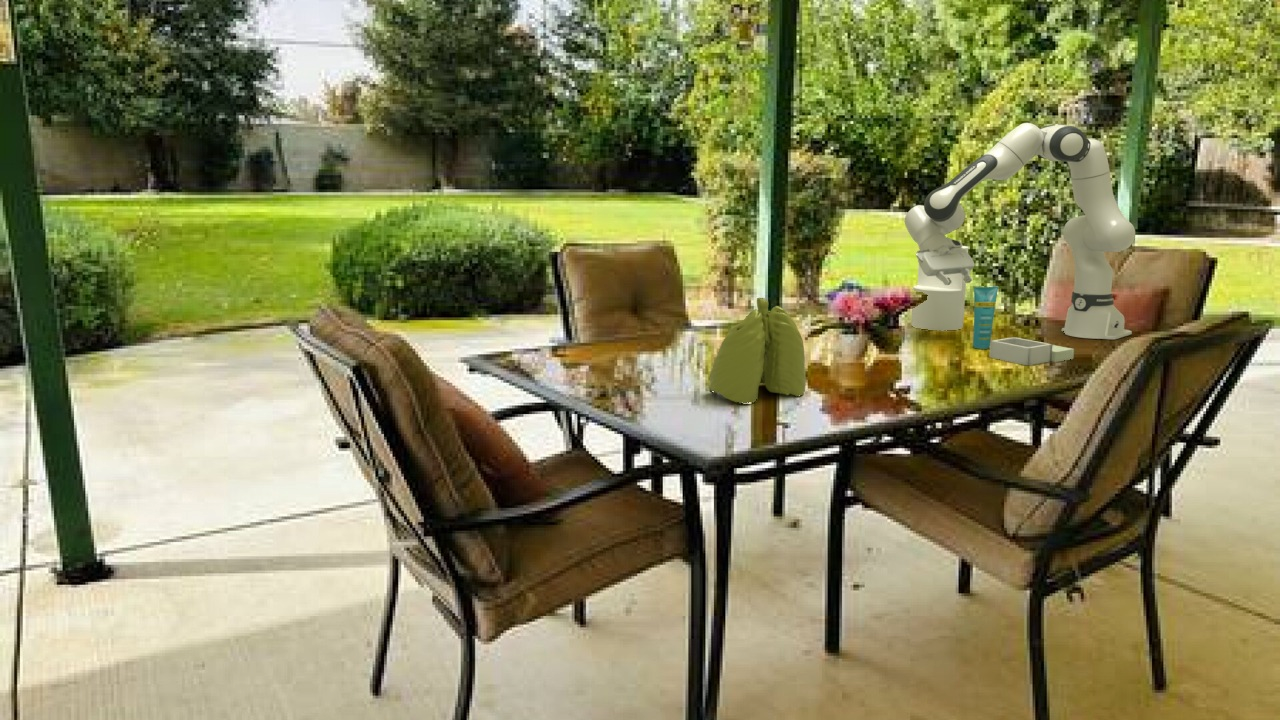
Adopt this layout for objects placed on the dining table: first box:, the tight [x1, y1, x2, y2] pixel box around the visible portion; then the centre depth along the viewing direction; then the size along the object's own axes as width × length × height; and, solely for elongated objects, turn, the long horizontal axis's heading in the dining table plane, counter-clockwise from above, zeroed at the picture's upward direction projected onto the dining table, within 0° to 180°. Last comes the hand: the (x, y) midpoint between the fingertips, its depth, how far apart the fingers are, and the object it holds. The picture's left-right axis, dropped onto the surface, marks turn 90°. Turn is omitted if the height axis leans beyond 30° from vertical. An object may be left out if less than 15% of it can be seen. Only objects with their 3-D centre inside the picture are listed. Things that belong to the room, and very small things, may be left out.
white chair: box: [910, 245, 969, 332], centre depth 314 cm, size 17×17×28 cm
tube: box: [972, 285, 999, 350], centre depth 279 cm, size 7×5×19 cm, turn 98°
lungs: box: [708, 297, 807, 404], centre depth 224 cm, size 25×16×24 cm, turn 118°
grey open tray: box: [988, 336, 1075, 366], centre depth 265 cm, size 18×16×5 cm
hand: (959, 282), depth 285 cm, fingers open, 8 cm apart
